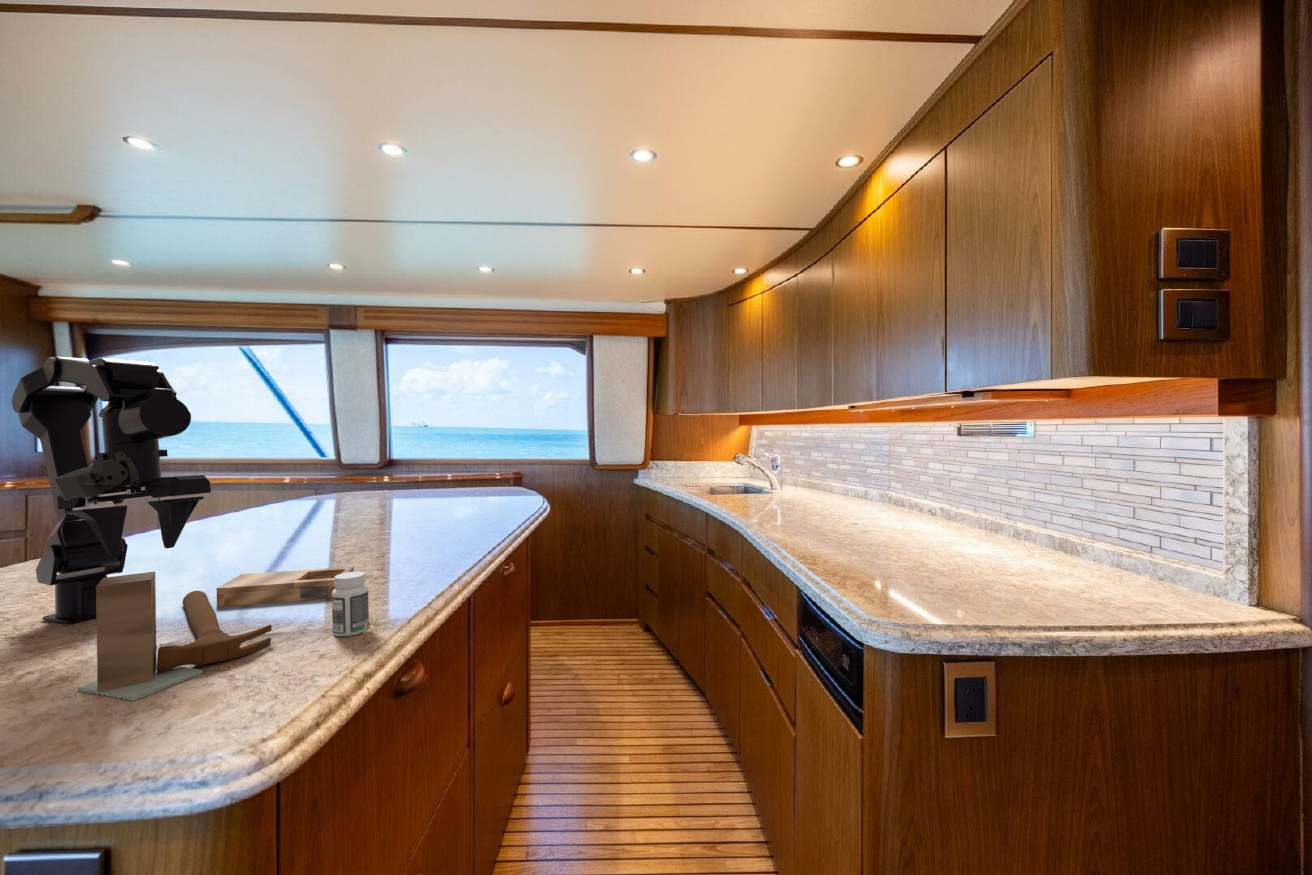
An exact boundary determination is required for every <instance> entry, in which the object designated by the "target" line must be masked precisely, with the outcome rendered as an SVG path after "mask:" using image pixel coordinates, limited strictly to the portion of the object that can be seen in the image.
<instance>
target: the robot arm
mask: <svg viewBox="0 0 1312 875" xmlns="http://www.w3.org/2000/svg"><path fill="white" fill-rule="evenodd" d="M55 382H58V383H59V382H61V383H70V384H75V385H80V386H85V388H84V389H82V388H81V387H79V386H59V385H58V386H57V385H54V384H55ZM11 398H12V399H11V405H12V410H13V411H14V413H17V414H18V418H19V420H20V423H21V427H22V428H24V429H26V430H27V431H28V432H29V433H30V434H32V435H33V436H35V437H36V438H37V439H39V441H40V446H41V450H42V454H43V459H44V462H45V467H46V468H45V469H46V473H47V477H48V482H49V487H50V491H51V492H50V493H51V496H52V501H53V504H54V505H53V506H54V510H55V514H56V519H57V523H56V525H55V526H54V528H53V530H52V531H51V533H50V534H49V536H48V537H47V539H46V547H45V549H44V551H43V553H42V556H41V557H40V559H39V561H38V564H37V566H36V568H35V573H36V575H35V576H36V581H37V582H38V583H40V584H43V585H46V586H48V587H49V586H54V595H55V596H54V599H55V600H54V604H55V607H54V609H55V610H54V611H55V613H51V614H48V615H44V616H42V621H47V622H55V623H61V624H62V623H63V624H73V623H77V622H81V621H84V620H89V619H92V618H97V616H96V586H97V585H98V584H99V582H100V581H101V580H102V579H103V578H105V577H108V576H109V575H113V574H121V573H123V571H124V568H125V563H126V559H127V558H126V557H127V553H128V552H127V551H128V547H129V546H128V544H127V541H126V539H125V537H123V532H124V527H125V522H126V521H125V520H126V517H127V511H128V504H126V505H119V504H122V503H123V502H124V500H131V499H139V498H149V497H152V498H153V499H158V498H159V500H152V501H147V504H149V505H150V506H151V507H152V508H153V509H154V510H155V511H156V512H157V514H158V520H159V528H160V533H161V540H162V544H163V547H164V549H172V548H174V547H175V546H176V544H177V542H178V540H179V537H180V536H181V533H182V532H183V530H184V528H185V526H186V525H187V524H186V523H187V522H188V520H189V519H190V516H191V515H192V513H193V511H194V509H195V508H196V507H197V505H198V503H199V502H200V501H202V500H204V498H205V497H204V496H203V494H211V493H212V491H211V489H212V488H211V480H210V479H209V478H207V476H206V475H204V474H197V475H196V474H195V475H194V474H193V475H175V476H162V468H161V458H164V457H168V456H169V454H168V449H160V445H159V444H160V442H159V441H160V440H161V439H165V438H169V437H173V436H174V437H175V436H178V435H180V434H182V433H184V432H185V431H186V430H187V429H188V428H189V426H190V424H191V422H192V414H191V412H190V410H189V409H188V407H187V405H185V404H184V402H182V400H179V399H178V398H177V391H176V390H175V389H174V387H173V386H172V385H171V383H170V382H169V381H168V379H167V377H166V376H165V374H164V372H163V371H162V370H160V367H159V366H158V364H156V363H155V362H150V361H138V360H129V359H127V360H126V359H118V358H104V357H99V358H95V359H91V360H89V359H88V358H84V357H83V358H82V357H71V356H70V357H68V356H60V355H55V356H53V357H51V356H48V357H47V358H46V359H45V361H44V363H43V366H42V367H40V368H37V369H35V370H33V371H32V372H30V373H28V374H26V375H24V376H23V377H21V378H20V379H19V381H18V383H17V385H16V387H15V389H14V391H13V394H12V397H11ZM98 400H100V401H101V402H108V403H107V404H106V406H105V407H103V408H102V409H100V411H99V412H98V416H99V417H100V418H101V419H102V433H103V444H104V445H103V446H104V452H99V453H95V456H93V462H94V463H93V464H92V465H89V461H88V460H89V459H88V456H87V452H86V446H85V444H84V439H83V435H82V430H83V429H84V427H85V426H86V424H87V423H88V421H89V420H90V418H91V417H92V410H93V408H94V407H95V405H96V403H98ZM143 488H144V489H143ZM142 489H143V490H142ZM128 490H129V491H128ZM200 495H201V496H200ZM160 499H161V500H160ZM115 505H117V506H115Z"/></svg>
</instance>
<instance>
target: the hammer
mask: <svg viewBox="0 0 1312 875" xmlns="http://www.w3.org/2000/svg"><path fill="white" fill-rule="evenodd" d="M182 605H183V608H184V609H185V613H186V616H187V619H188V623H189V625H190V627H191V629H192V631H193V632H194V634H195V636H196V638H197V640H196V641H193V642H190V643H188V644H183V645H182V644H181V645H170V644H169V645H163V646H159V647H158V649H157V656H156V660H157V672H161V671H166V670H170V669H173V668H175V667H178V666H180V667H183V666H189V665H192V666H197V665H198V666H201V665H208V664H212V663H217V662H222V661H226V660H232V659H237V658H240V657H244V656H246V655H249V654H251V653H254V652H256V651H257V650H260V649H263V648H264V647H266V646H269V645H270V644H271V642H272V641H271V640H272V637H266V638H264V639H262V640H259V641H256V642H253V643H250V644H246V645H244V646H241V645H242V644H244V643H245V642H248V641H251V640H253V639H256V638H259V637H260V636H262V635H265V634H266V633H268V632H272V628H273V626H272V625H271V624H268V625H266V626H263V627H261V628H257V629H255V630H252V631H248V632H244V633H241V634H236V635H235V634H234V635H229V634H228V633H226V632H224V631H223V630H222V629H221V627H220V624H219V621H218V617H217V614H216V612H215V609H214V608H213V606H212V605H211V603H210V600H209V598H208V596H207V594H206V592H204V591H201V590H192V591H191V592H188V593H187V594H186V595H185V596H184V597H183V598H182ZM268 644H269V645H268Z"/></svg>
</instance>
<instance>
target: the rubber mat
mask: <svg viewBox="0 0 1312 875" xmlns="http://www.w3.org/2000/svg"><path fill="white" fill-rule="evenodd" d="M201 674H203V669H197V668H191V667H185V666H178V667H175V668H173V669H170V670H166V671H161V672H157V668H156V671H155V675H154V678H153V681H151V682H146V683H141V684H137V685H132V686H127V687H123V688H118V689H113V690H109V691H104V692H99V693H98V681H97V680H95V681H91V682H88V683H85V684H83V685H80V686H78V687H77V691H78V692H81V693H82V692H83V693H89V694H93V693H96V694H95V695H98V694H101V695H100V696H104V695H106V696H105V697H109V696H110V697H111V698H115V697H119V698H118V699H120V698H123V699H122V700H125V699H127V700H126V701H131V700H132V702H135V701H138V700H139V698H140V699H142V698H145V697H147V696H149V695H151V694H154V693H157V692H159V691H161V690H165V689H166V688H167V689H168V688H169V687H172V686H174V685H176V684H180V683H181V682H184V681H186V680H188V679H189V680H190V679H192V678H194V677H196V676H199V675H201ZM110 697H109V698H110ZM124 698H125V699H124ZM134 700H135V701H134Z"/></svg>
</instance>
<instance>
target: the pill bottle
mask: <svg viewBox="0 0 1312 875" xmlns="http://www.w3.org/2000/svg"><path fill="white" fill-rule="evenodd" d="M365 583H366V573H365V572H364V571H354V572H347V573H342V574H339V575H336V576H335V577H334V585H335V587H336V589H334V590H333V592H332V598H331V610H332V611H331V616H332V617H331V618H332V619H331V620H332V624H331V625H332V635H334V636H336V637H350V636H351V637H352V636H356V635H359V634H361V633H364V632H365V631H367V630H368V629H369V626H370V619H369V618H370V616H369V615H370V612H369V609H370V608H369V587H368V586H367V585H366V584H365Z"/></svg>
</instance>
